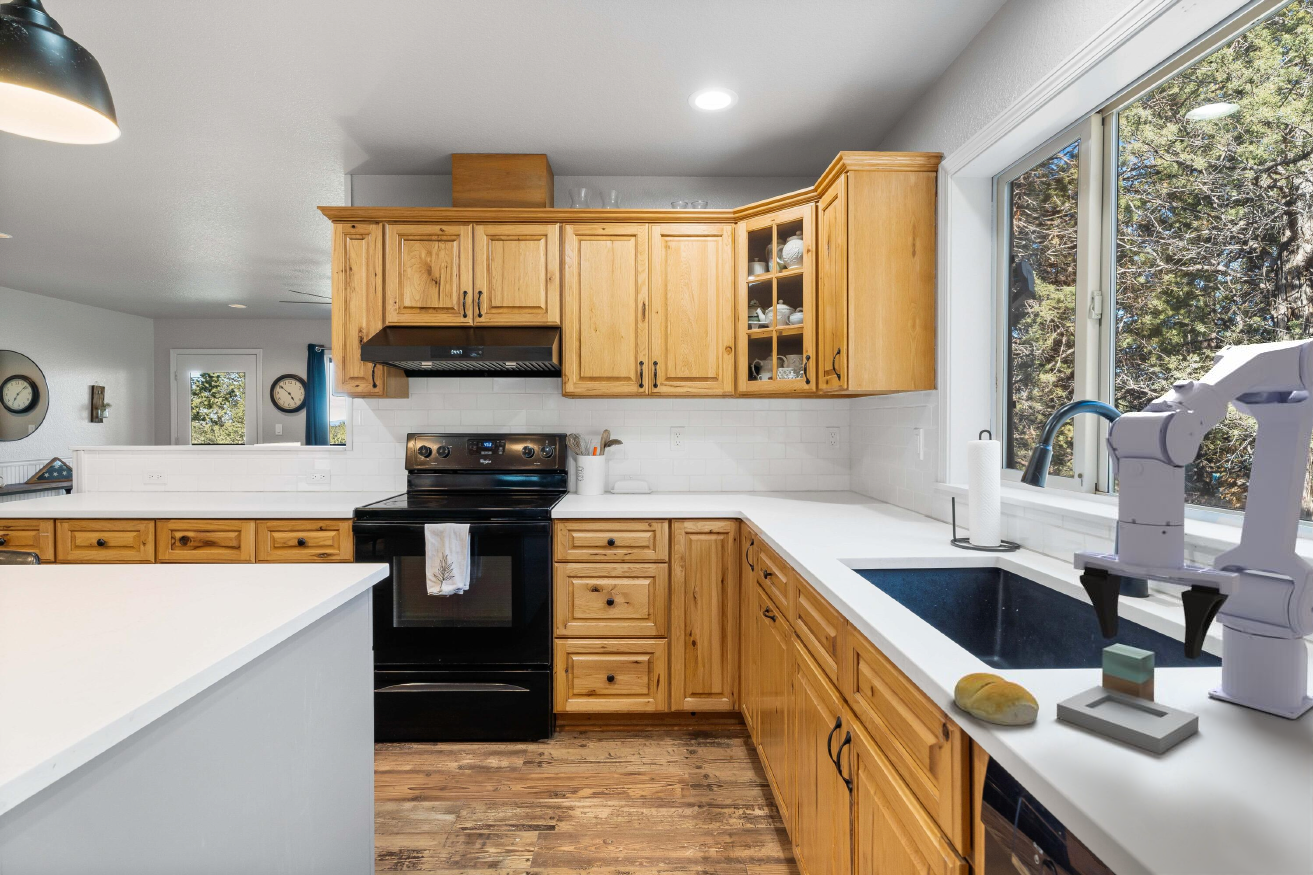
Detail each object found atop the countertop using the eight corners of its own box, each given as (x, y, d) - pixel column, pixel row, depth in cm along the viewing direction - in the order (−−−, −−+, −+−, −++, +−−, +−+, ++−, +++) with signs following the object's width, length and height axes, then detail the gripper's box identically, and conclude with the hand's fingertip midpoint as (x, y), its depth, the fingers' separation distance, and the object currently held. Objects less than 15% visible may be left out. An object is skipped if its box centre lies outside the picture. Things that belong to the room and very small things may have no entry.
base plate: (1098, 697, 80) (1098, 685, 80) (1198, 729, 72) (1198, 715, 72) (1056, 717, 75) (1056, 703, 75) (1159, 754, 66) (1159, 738, 66)
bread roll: (994, 692, 82) (994, 661, 82) (1051, 724, 74) (1052, 689, 74) (937, 698, 81) (937, 666, 81) (989, 731, 72) (989, 695, 72)
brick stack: (1116, 689, 83) (1117, 643, 83) (1154, 701, 79) (1154, 652, 79) (1102, 696, 81) (1102, 648, 81) (1139, 708, 77) (1140, 658, 77)
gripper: (1061, 517, 74) (1060, 634, 75) (1222, 534, 62) (1220, 675, 62) (1090, 512, 78) (1089, 624, 78) (1247, 528, 66) (1245, 660, 66)
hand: (1149, 646), depth 71 cm, fingers open, 7 cm apart
